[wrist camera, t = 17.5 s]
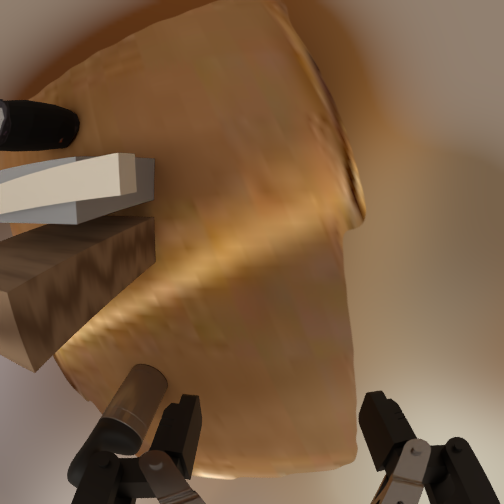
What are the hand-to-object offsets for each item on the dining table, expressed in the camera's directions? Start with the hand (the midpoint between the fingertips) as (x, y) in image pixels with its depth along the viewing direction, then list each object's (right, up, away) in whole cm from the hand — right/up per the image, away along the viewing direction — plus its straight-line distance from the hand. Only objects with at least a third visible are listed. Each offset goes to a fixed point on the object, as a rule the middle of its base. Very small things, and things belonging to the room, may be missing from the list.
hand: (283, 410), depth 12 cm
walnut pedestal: (-27, +10, +36) cm, 46 cm away
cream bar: (-25, +14, +12) cm, 31 cm away
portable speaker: (-38, +32, +30) cm, 58 cm away
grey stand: (-27, +20, +33) cm, 47 cm away
